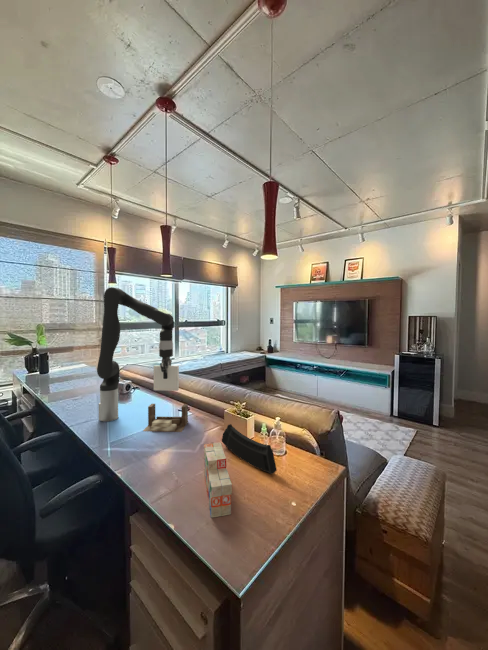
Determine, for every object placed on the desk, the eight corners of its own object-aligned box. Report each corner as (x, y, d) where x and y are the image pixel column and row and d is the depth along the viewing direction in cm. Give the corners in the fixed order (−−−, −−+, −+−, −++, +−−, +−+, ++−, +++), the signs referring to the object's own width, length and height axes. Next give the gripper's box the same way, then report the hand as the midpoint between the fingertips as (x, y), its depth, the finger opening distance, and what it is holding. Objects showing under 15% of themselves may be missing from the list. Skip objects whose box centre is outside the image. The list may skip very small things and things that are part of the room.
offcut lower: (150, 430, 136) (150, 426, 136) (153, 427, 140) (153, 423, 140) (174, 430, 135) (174, 427, 135) (176, 427, 139) (176, 423, 139)
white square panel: (153, 390, 154) (153, 366, 153) (155, 389, 156) (154, 365, 155) (177, 390, 153) (177, 366, 153) (178, 389, 155) (178, 365, 155)
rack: (142, 433, 135) (142, 411, 135) (152, 422, 149) (152, 402, 149) (181, 433, 134) (181, 412, 134) (188, 422, 148) (188, 403, 148)
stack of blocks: (231, 515, 79) (231, 474, 79) (210, 518, 78) (210, 477, 78) (220, 474, 100) (220, 441, 100) (204, 476, 99) (203, 443, 98)
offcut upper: (152, 426, 136) (151, 422, 136) (154, 423, 140) (154, 419, 140) (169, 426, 136) (169, 422, 136) (171, 424, 139) (171, 420, 139)
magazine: (281, 453, 98) (232, 409, 119) (275, 456, 96) (226, 410, 117) (271, 490, 102) (226, 441, 123) (265, 494, 100) (220, 443, 121)
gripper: (163, 346, 161) (163, 375, 161) (155, 349, 147) (155, 381, 148) (176, 347, 160) (176, 375, 161) (168, 349, 147) (168, 381, 147)
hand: (166, 378), depth 154 cm, fingers closed on white square panel, 2 cm apart
